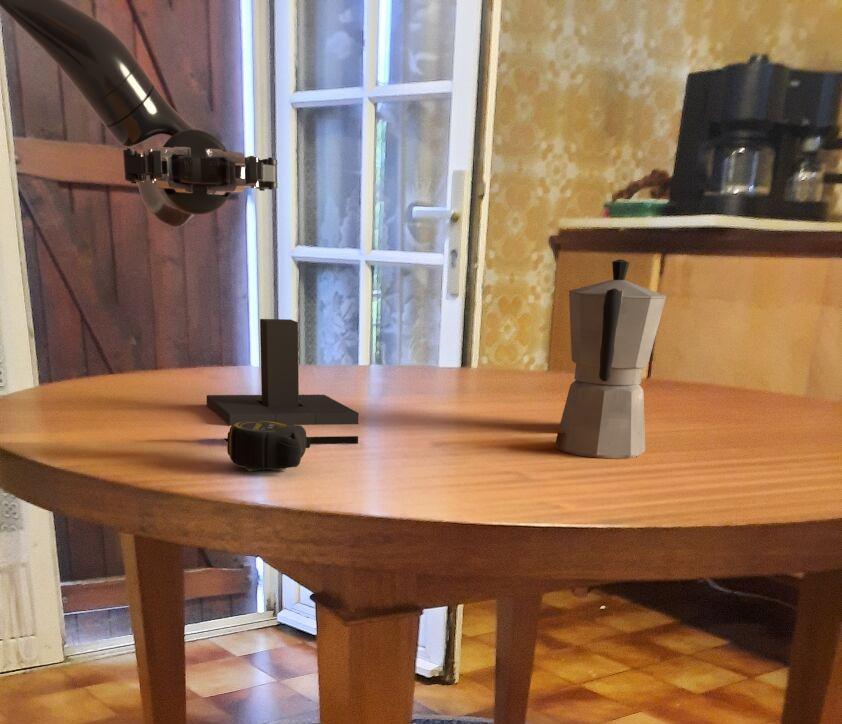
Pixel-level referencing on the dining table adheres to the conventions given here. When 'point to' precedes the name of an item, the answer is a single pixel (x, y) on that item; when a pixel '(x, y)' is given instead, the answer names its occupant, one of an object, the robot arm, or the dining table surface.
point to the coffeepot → (609, 367)
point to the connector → (279, 362)
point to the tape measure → (266, 445)
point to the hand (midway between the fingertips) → (206, 167)
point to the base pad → (286, 413)
